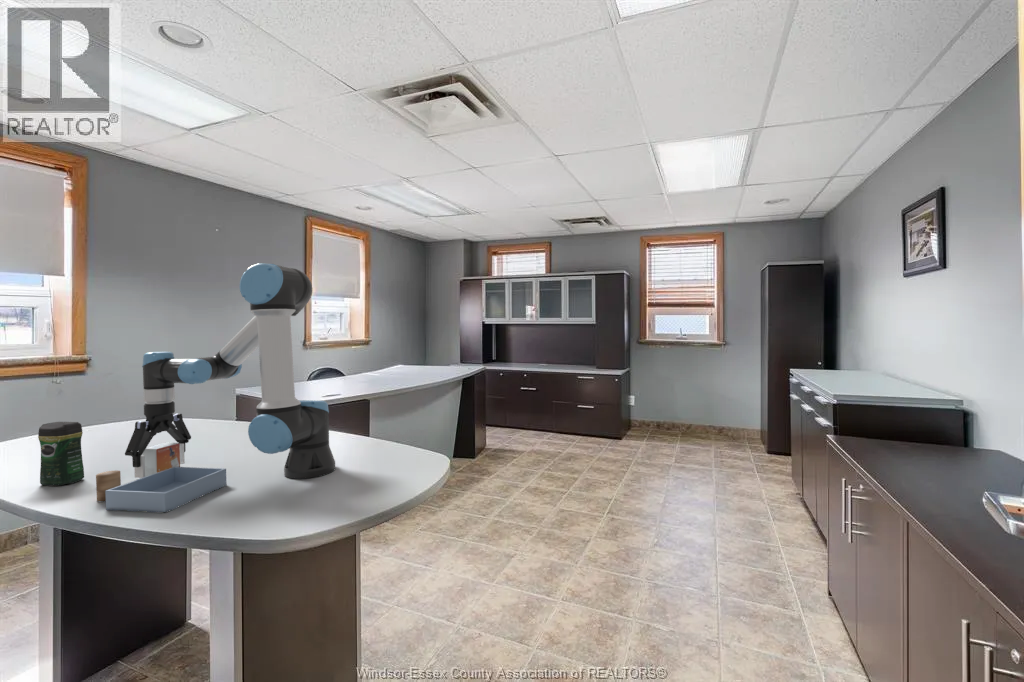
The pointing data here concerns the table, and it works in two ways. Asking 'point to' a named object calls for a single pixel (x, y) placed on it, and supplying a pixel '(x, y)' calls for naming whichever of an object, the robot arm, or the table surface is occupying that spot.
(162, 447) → the small box
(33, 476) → the table surface
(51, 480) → the coffee jar
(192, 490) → the tray
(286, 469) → the robot arm
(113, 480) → the tan wooden block
